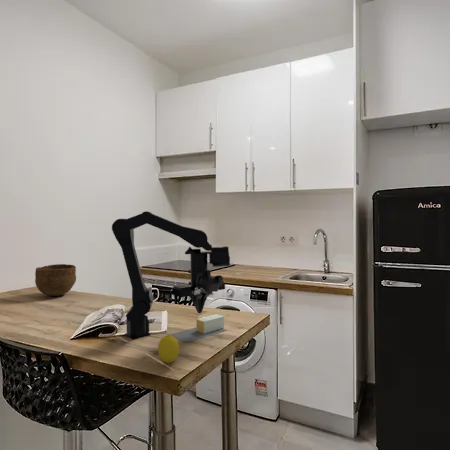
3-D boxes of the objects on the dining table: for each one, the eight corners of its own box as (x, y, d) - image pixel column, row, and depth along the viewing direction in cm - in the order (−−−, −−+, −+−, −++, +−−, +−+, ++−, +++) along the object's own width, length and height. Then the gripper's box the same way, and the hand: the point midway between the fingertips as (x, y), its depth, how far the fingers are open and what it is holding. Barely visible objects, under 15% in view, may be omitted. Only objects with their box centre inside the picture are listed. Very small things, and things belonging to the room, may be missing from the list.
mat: (186, 343, 107) (186, 342, 107) (169, 335, 115) (169, 334, 115) (227, 331, 119) (227, 330, 119) (209, 324, 126) (209, 323, 126)
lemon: (159, 360, 95) (159, 331, 95) (179, 359, 96) (179, 330, 96) (157, 369, 90) (156, 338, 90) (178, 368, 90) (178, 337, 90)
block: (203, 321, 115) (223, 316, 121) (196, 319, 118) (216, 314, 124) (203, 333, 116) (223, 327, 121) (196, 330, 119) (216, 325, 125)
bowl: (66, 300, 165) (65, 269, 165) (27, 300, 166) (26, 269, 165) (83, 291, 184) (82, 263, 184) (48, 291, 184) (47, 263, 184)
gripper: (190, 273, 104) (190, 324, 105) (235, 266, 116) (236, 312, 117) (170, 269, 113) (171, 316, 113) (214, 263, 125) (215, 306, 125)
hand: (199, 313), depth 117 cm, fingers closed
